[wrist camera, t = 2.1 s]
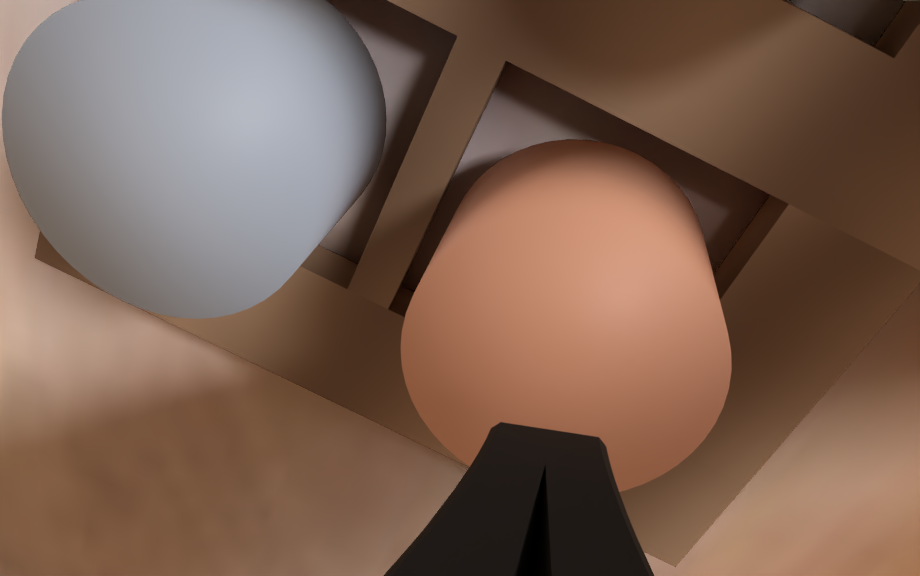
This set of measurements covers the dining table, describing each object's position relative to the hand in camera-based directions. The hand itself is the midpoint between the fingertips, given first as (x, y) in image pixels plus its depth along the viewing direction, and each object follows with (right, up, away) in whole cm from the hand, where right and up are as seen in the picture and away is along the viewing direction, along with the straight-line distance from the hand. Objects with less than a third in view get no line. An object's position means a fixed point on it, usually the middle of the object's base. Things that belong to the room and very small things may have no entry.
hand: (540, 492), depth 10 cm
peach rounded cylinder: (+1, +3, +6) cm, 7 cm away
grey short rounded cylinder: (-5, +6, +6) cm, 10 cm away
